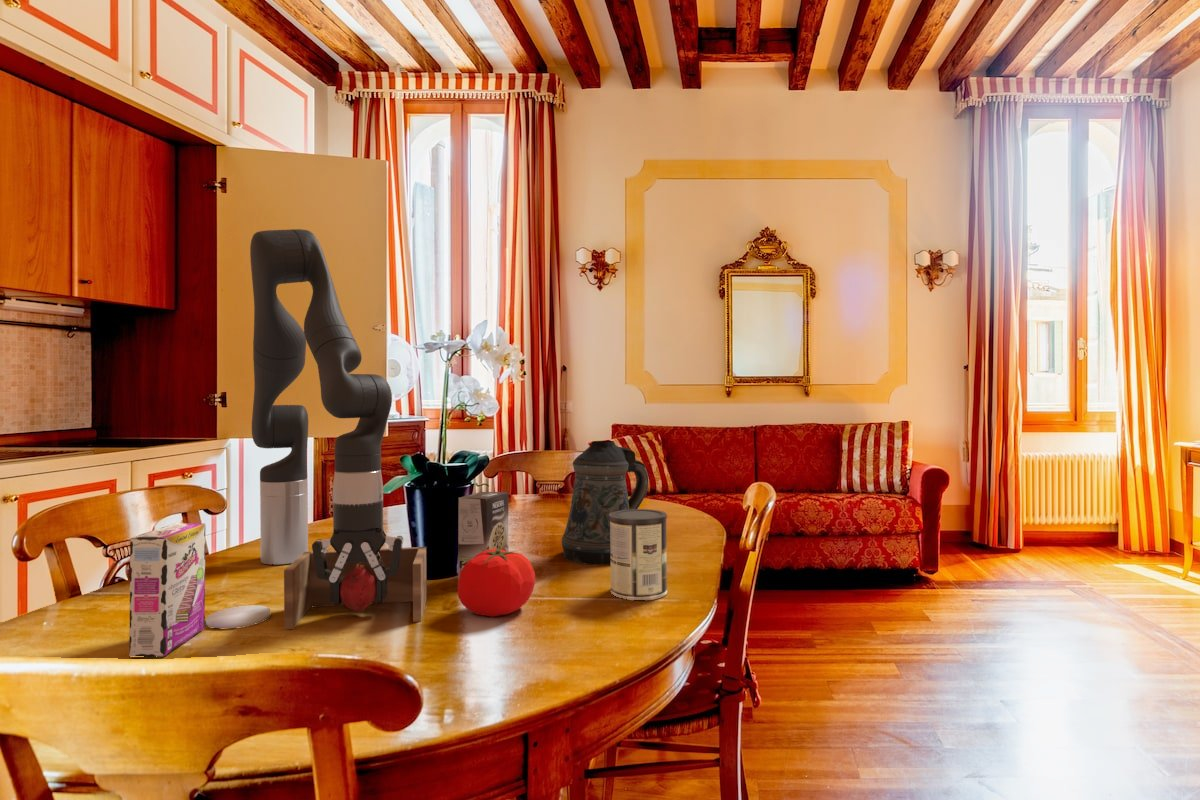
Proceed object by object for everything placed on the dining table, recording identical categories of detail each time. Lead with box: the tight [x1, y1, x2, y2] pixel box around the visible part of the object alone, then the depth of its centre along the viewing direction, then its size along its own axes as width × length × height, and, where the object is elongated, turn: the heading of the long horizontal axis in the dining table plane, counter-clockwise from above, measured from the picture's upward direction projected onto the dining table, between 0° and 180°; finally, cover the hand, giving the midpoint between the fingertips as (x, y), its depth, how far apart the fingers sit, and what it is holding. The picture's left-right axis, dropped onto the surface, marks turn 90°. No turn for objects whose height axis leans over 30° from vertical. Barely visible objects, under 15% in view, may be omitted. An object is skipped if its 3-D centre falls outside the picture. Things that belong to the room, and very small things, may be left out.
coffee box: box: [457, 491, 510, 582], centre depth 130 cm, size 9×6×16 cm
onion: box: [340, 562, 377, 613], centre depth 108 cm, size 6×6×8 cm
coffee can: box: [609, 508, 668, 601], centre depth 120 cm, size 10×10×14 cm
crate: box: [283, 546, 428, 631], centre depth 109 cm, size 12×20×9 cm, turn 100°
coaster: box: [205, 604, 271, 629], centre depth 106 cm, size 9×9×1 cm
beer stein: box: [561, 440, 650, 565], centre depth 148 cm, size 16×19×25 cm
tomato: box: [457, 548, 536, 618], centre depth 110 cm, size 11×13×10 cm
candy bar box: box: [128, 522, 207, 659], centre depth 96 cm, size 11×5×16 cm, turn 5°
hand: (358, 602), depth 108 cm, fingers closed on onion, 5 cm apart
